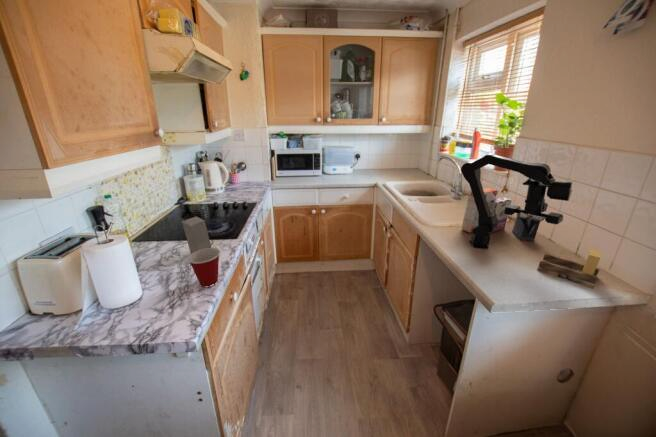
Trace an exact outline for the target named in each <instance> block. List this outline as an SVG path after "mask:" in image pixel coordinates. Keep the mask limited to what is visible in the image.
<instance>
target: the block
mask: <svg viewBox="0 0 656 437" xmlns="http://www.w3.org/2000/svg"><path fill="white" fill-rule="evenodd" d="M602 253H603V252H602V251H600V250H597V249H596V250H595V249H592V248H591V249H590V250H589V254H588V255H587V259H586V260H585V264H584V265H585V266H584V268H583V271H582V273H585V274H588V275H591V276H593V274H594V272H595V269H596V268H597V267H598V265H599V261H600V259H601V256H602Z"/></svg>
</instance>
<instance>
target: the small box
mask: <svg viewBox="0 0 656 437" xmlns="http://www.w3.org/2000/svg"><path fill="white" fill-rule="evenodd" d="M519 217H520V214H518V213H516V217H515V221H514V224H513V227H512V231H511V233H513V234H514V236H515V237H516V238H517V239H518V240H519V241H521V242H522V241H523V242H532V243H533V242H535V239H536V236H537V233H538V229H539V227H540V224H541V222H540V223H537V225H536V226H535V227H534V229H533V230H532V232H531V233H530V234H527V232H526V230H525V227H524V224H523V222H522V220H521V219H519ZM532 219H534V218H533V216H532ZM532 219H531V220H532Z"/></svg>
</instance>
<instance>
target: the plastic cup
mask: <svg viewBox="0 0 656 437" xmlns="http://www.w3.org/2000/svg"><path fill="white" fill-rule="evenodd" d="M220 255H221V252H220V249H218V248H213V247H211V248H207V249H202V250H198V251H196V252H194V253H192V254H191V253H190V254H189V255H188V256H186V261H187V262H188V263H189V264H190V266H191V267H192V269H193V272H194V274H195V276H196V278H197V280H198V282H199V284H200V286H201V285H202V286H210V285H212V284H215V283H216V282H217V281H218V280H219V261H220V260H219V259H220ZM217 283H218V282H217ZM202 286H201V287H202Z"/></svg>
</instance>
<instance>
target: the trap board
mask: <svg viewBox="0 0 656 437" xmlns="http://www.w3.org/2000/svg"><path fill="white" fill-rule="evenodd" d="M584 266H585V264H584V263H581V262H577V261H573V260H571V259H567V258H562V257H560V256H556V255H553V254H549V253H546V252H545V253H544V255H543V258H542V259H540V261H539V264H538V266H537V269H536V270H537V271H539V272H541V273H545V274H549V275H551V276H554V277H558V278H560V279H564V280H566V281H568V282H572V283H575V284H578V285H581V286H584V287H587V288H591V289H594V287H595V285H596V283H597V280H598V279H599V278H598V274H599V272H600V268H597V267H596V269H595V272H594V274H593V276H591V275H588V274H585V273H582V271H583V268H584Z"/></svg>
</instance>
